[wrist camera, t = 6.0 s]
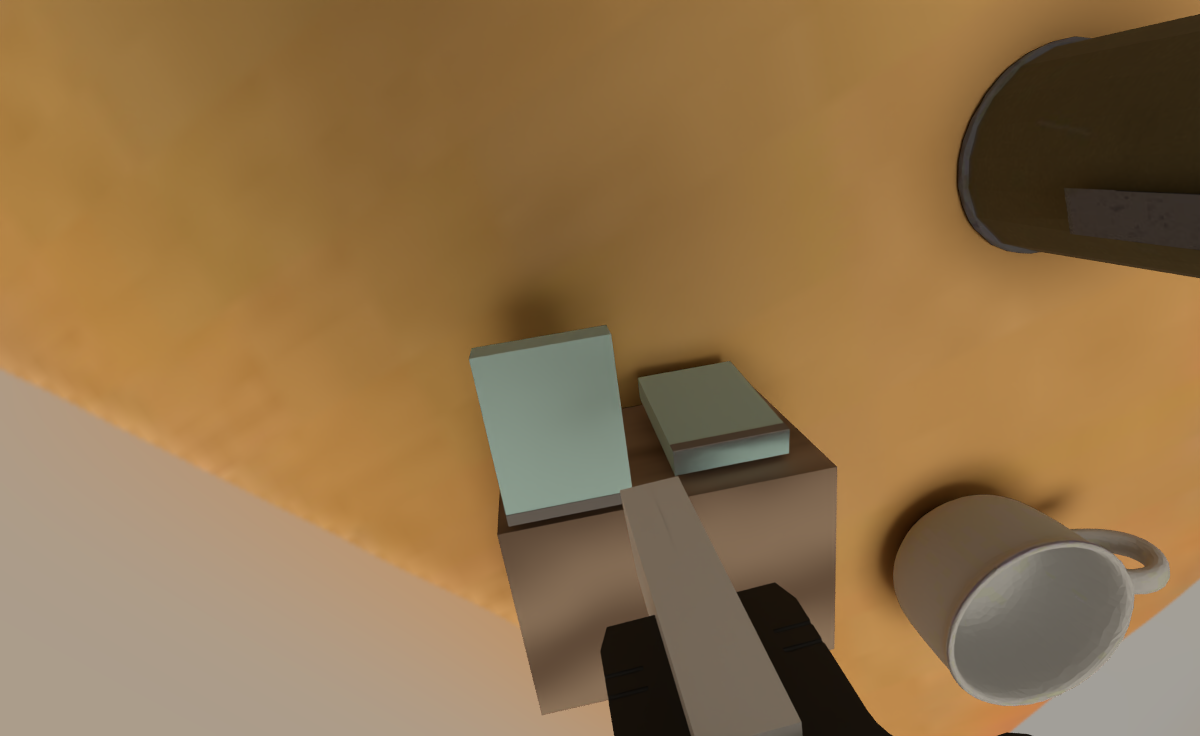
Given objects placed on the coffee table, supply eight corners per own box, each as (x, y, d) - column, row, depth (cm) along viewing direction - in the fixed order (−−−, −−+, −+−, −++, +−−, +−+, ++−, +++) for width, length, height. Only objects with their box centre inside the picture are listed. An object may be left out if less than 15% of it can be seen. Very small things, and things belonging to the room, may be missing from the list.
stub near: (471, 348, 20) (468, 359, 19) (606, 324, 21) (611, 334, 20) (509, 508, 23) (508, 526, 22) (628, 484, 23) (634, 501, 22)
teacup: (865, 619, 39) (947, 726, 32) (870, 488, 35) (964, 575, 28) (1048, 577, 40) (1169, 671, 33) (1072, 445, 36) (1215, 518, 29)
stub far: (639, 397, 30) (637, 377, 29) (730, 381, 30) (729, 360, 30) (675, 475, 23) (673, 451, 23) (788, 453, 24) (789, 428, 23)
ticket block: (503, 430, 30) (497, 534, 22) (750, 384, 32) (837, 466, 23) (535, 576, 34) (542, 715, 25) (757, 530, 35) (834, 648, 27)
